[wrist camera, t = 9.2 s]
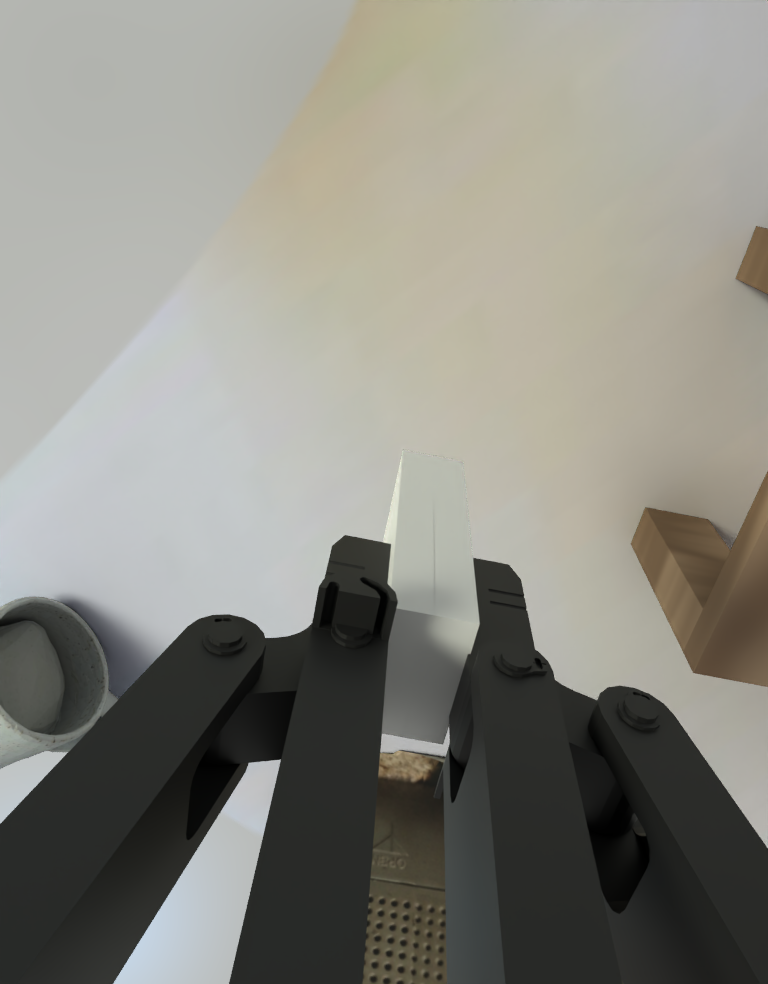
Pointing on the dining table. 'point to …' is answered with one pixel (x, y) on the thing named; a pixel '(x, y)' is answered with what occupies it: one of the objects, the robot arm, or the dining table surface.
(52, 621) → the ceramic mug
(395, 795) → the radio
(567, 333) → the dining table surface
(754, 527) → the bridge
